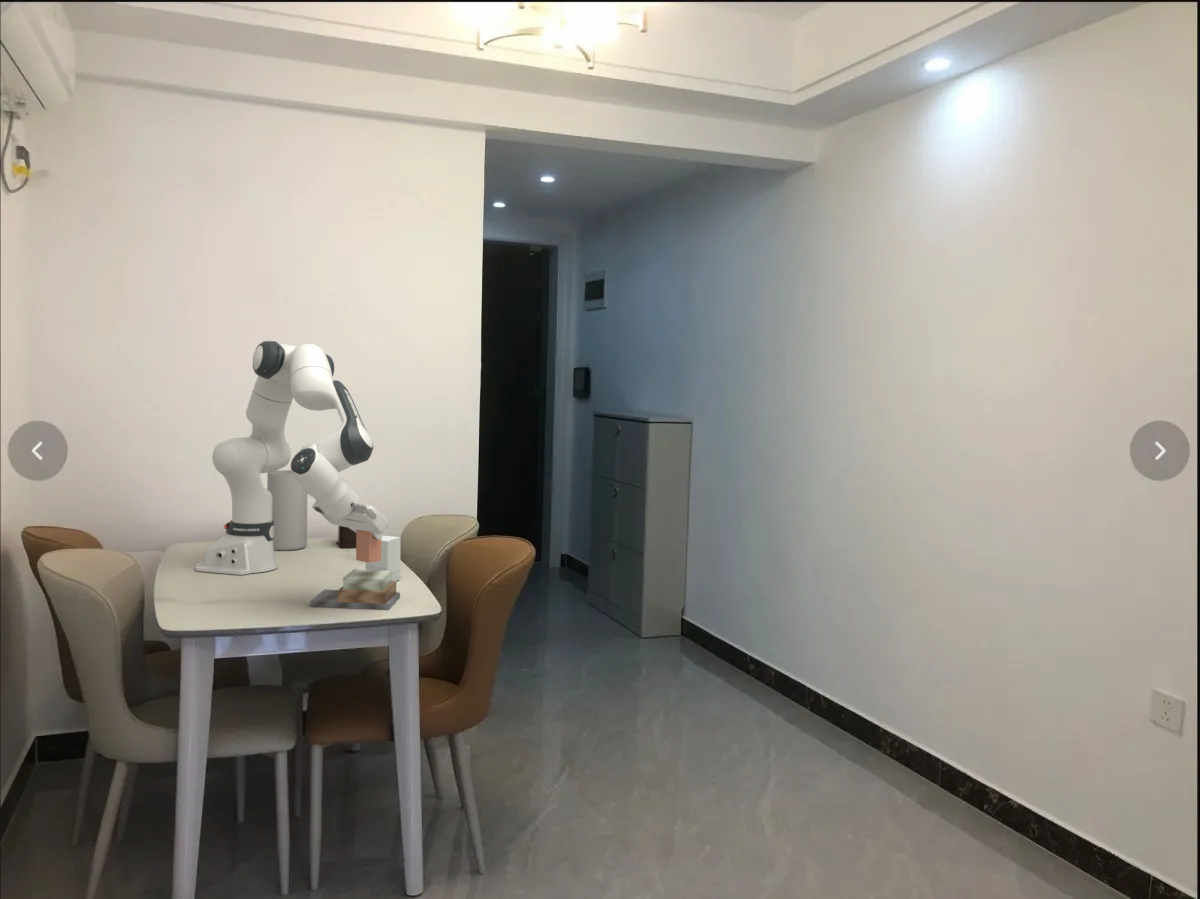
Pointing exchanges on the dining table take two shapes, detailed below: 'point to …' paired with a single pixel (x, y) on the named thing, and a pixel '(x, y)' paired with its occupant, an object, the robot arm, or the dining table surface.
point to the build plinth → (333, 598)
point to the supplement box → (388, 557)
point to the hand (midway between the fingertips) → (371, 535)
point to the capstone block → (367, 547)
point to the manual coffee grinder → (346, 537)
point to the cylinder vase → (288, 510)
